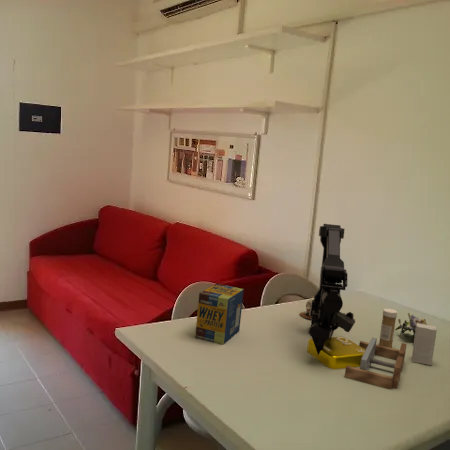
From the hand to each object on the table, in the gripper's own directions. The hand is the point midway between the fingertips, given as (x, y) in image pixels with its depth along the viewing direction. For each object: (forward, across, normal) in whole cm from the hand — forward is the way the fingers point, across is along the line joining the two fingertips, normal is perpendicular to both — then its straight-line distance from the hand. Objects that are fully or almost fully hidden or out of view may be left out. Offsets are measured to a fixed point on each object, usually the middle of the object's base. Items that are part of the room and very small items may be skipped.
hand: (323, 350), depth 159 cm
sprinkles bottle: (+2, +20, -17) cm, 26 cm away
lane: (+2, 0, -16) cm, 16 cm away
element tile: (+2, +1, -5) cm, 5 cm away
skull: (+2, +37, +13) cm, 39 cm away
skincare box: (+2, +15, -29) cm, 33 cm away
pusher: (+1, 0, -18) cm, 19 cm away
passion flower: (+2, +35, -24) cm, 43 cm away
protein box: (+2, -5, +35) cm, 35 cm away
